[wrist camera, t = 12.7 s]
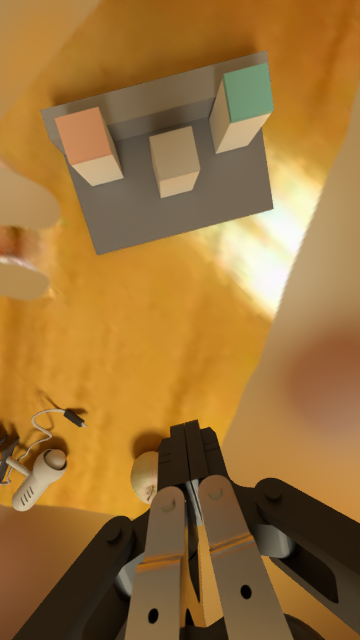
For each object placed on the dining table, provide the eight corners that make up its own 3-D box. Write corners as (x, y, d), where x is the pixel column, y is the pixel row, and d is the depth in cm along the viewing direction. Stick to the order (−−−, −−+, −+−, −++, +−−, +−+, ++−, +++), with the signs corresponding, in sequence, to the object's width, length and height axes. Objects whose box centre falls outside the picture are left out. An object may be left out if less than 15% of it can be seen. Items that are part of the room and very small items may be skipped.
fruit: (131, 475, 46) (124, 519, 38) (135, 441, 44) (128, 480, 37) (172, 477, 47) (173, 521, 39) (177, 444, 45) (180, 483, 37)
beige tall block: (160, 198, 34) (159, 179, 26) (152, 166, 33) (149, 137, 25) (192, 190, 34) (200, 169, 26) (184, 158, 33) (191, 125, 25)
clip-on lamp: (49, 382, 44) (-20, 466, 43) (32, 393, 38) (-50, 492, 36) (102, 421, 45) (37, 504, 44) (95, 437, 39) (18, 535, 37)
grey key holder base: (98, 255, 36) (88, 254, 31) (58, 132, 32) (40, 110, 28) (270, 210, 36) (286, 202, 31) (251, 81, 32) (266, 50, 27)
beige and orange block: (92, 186, 33) (69, 163, 25) (81, 153, 32) (54, 118, 24) (124, 177, 33) (111, 152, 25) (114, 144, 32) (98, 106, 24)
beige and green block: (215, 154, 33) (231, 120, 25) (209, 119, 32) (223, 73, 24) (247, 145, 33) (273, 109, 25) (242, 111, 32) (267, 62, 24)
